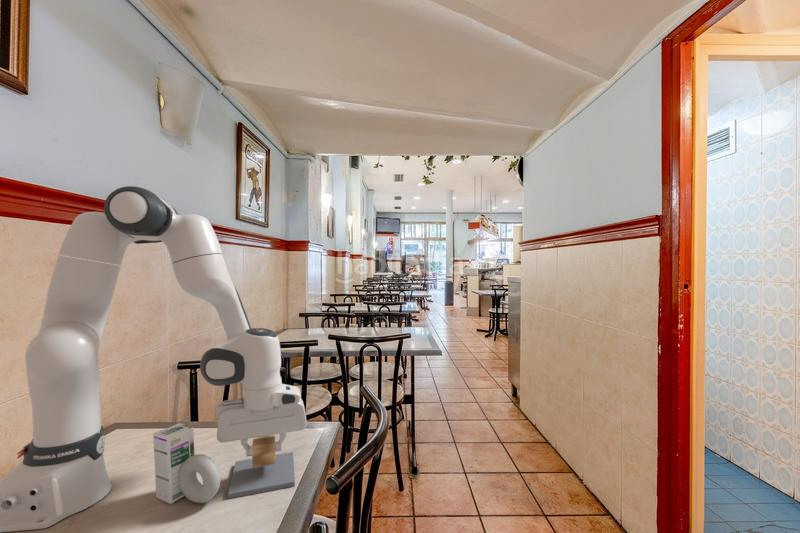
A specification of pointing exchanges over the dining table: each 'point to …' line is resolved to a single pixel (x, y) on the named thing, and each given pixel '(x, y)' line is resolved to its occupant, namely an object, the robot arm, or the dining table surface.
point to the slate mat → (262, 476)
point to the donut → (191, 483)
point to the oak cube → (263, 451)
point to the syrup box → (171, 459)
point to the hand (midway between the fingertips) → (264, 452)
